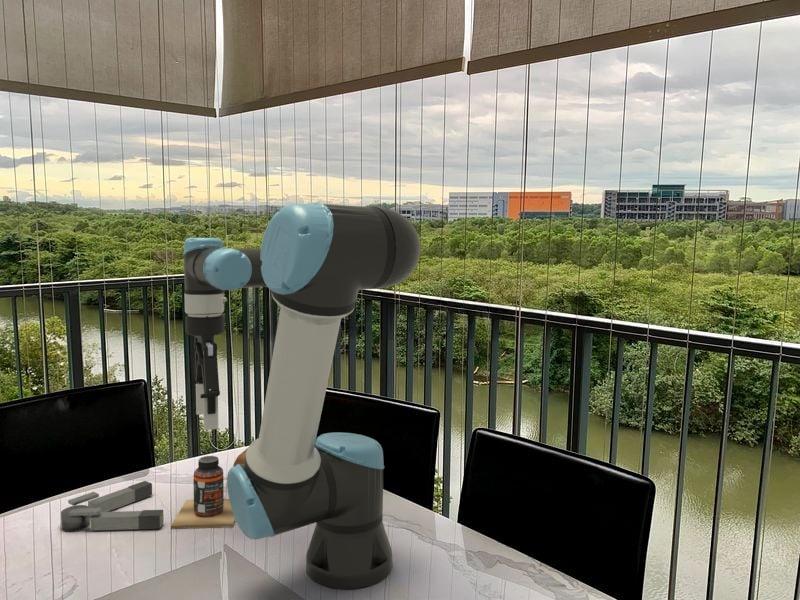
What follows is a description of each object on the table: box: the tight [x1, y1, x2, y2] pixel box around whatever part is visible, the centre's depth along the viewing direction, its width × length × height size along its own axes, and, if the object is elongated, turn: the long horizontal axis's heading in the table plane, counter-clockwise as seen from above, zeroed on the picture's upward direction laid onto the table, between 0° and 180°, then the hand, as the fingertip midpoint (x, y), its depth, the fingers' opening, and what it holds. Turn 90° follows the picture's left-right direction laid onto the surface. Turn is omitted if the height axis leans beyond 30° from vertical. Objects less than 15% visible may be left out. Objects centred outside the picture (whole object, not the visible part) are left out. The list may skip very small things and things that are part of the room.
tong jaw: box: [67, 480, 153, 517], centre depth 128 cm, size 17×3×4 cm, turn 145°
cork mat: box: [170, 498, 236, 530], centre depth 126 cm, size 12×12×1 cm
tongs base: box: [60, 504, 165, 533], centre depth 120 cm, size 5×20×4 cm, turn 95°
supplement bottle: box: [193, 455, 225, 517], centre depth 125 cm, size 6×6×11 cm
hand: (206, 421), depth 124 cm, fingers open, 11 cm apart
